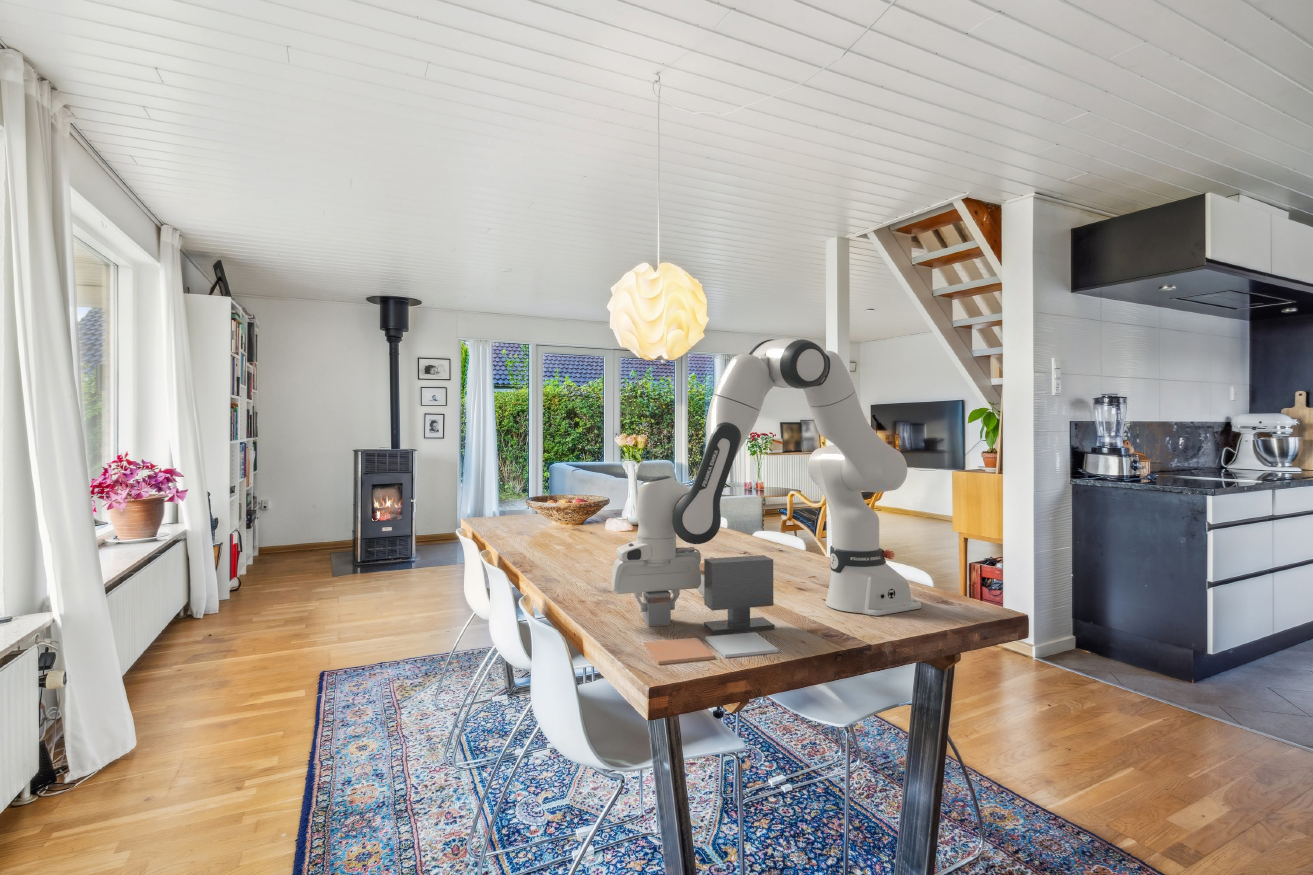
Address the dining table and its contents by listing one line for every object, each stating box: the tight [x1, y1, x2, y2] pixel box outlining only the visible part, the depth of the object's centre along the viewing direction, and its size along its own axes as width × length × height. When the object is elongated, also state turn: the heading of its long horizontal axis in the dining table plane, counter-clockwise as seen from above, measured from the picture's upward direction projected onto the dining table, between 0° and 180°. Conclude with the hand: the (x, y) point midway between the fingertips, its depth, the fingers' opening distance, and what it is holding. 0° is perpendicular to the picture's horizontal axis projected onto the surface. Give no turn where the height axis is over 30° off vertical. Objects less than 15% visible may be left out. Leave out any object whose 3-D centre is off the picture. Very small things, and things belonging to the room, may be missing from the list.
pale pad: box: [705, 631, 779, 659], centre depth 131 cm, size 11×11×1 cm
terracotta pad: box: [643, 637, 716, 665], centre depth 127 cm, size 11×11×1 cm
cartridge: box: [642, 590, 672, 627], centre depth 147 cm, size 5×5×7 cm
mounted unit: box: [703, 554, 775, 636], centre depth 142 cm, size 14×6×15 cm, turn 105°
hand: (656, 610), depth 147 cm, fingers closed on cartridge, 5 cm apart
